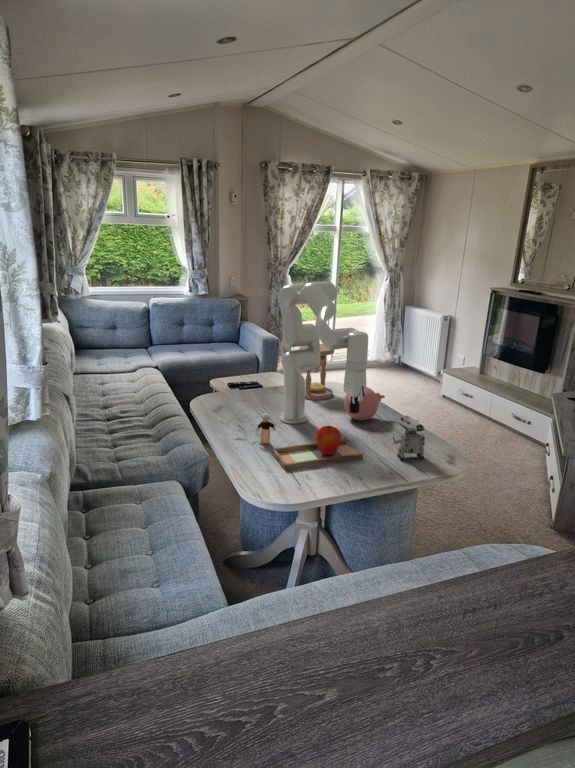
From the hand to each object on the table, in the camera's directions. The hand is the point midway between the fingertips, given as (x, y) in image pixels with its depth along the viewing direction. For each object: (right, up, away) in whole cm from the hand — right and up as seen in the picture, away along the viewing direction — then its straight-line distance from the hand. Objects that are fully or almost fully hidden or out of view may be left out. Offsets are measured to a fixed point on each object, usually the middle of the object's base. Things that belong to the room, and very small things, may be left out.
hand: (354, 412), depth 200 cm
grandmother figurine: (-34, -13, +12) cm, 38 cm away
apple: (-10, -16, +2) cm, 19 cm away
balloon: (+10, -5, +40) cm, 42 cm away
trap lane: (-14, -17, 0) cm, 22 cm away
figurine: (+21, -17, +2) cm, 27 cm away
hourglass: (-11, +5, +73) cm, 73 cm away
